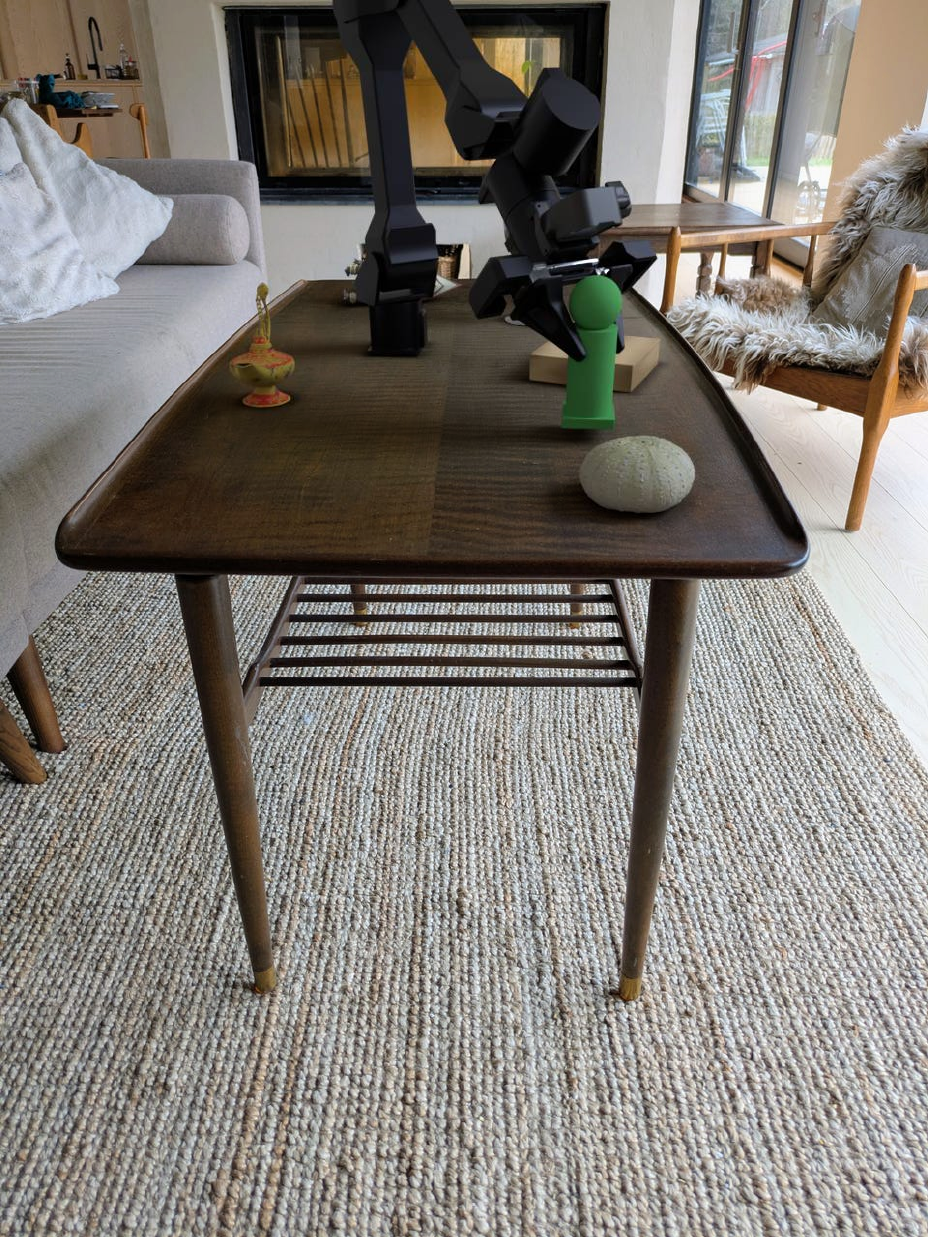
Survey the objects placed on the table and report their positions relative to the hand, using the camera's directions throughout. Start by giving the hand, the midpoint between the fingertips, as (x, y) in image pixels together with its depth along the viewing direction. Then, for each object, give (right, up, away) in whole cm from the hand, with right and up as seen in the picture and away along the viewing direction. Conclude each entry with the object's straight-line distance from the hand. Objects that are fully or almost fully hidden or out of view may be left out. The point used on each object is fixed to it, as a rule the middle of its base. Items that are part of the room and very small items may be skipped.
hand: (601, 355), depth 83 cm
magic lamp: (-34, -1, +14) cm, 37 cm away
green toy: (-1, -5, +4) cm, 7 cm away
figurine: (-22, +25, +56) cm, 65 cm away
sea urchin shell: (+2, -14, -8) cm, 16 cm away
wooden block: (+3, +5, +23) cm, 23 cm away
